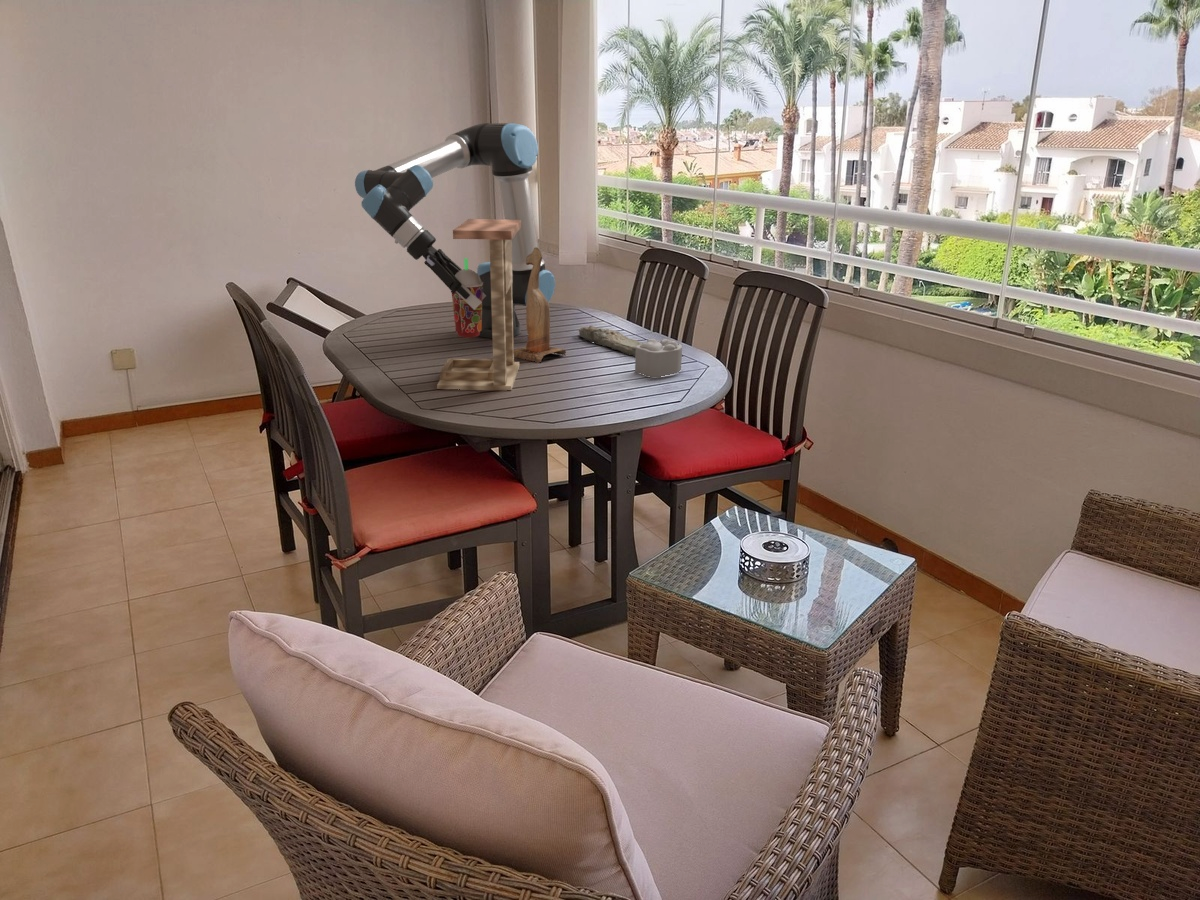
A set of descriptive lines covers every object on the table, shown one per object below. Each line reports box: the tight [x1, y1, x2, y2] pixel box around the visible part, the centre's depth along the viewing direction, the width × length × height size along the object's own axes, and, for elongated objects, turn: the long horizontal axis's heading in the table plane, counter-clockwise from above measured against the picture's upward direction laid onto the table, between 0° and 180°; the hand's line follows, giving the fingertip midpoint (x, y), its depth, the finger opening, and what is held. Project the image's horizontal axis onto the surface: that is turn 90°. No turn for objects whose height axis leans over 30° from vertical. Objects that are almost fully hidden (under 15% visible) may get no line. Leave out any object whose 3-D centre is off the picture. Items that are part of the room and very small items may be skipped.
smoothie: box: [451, 257, 483, 338], centre depth 226 cm, size 8×8×20 cm
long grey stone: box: [578, 325, 644, 357], centre depth 268 cm, size 35×5×10 cm
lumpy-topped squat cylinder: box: [634, 338, 683, 377], centre depth 240 cm, size 10×13×9 cm
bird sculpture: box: [514, 246, 567, 363], centre depth 249 cm, size 11×12×32 cm
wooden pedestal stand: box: [436, 218, 521, 391], centre depth 226 cm, size 20×26×40 cm
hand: (480, 302), depth 226 cm, fingers closed on smoothie, 8 cm apart
